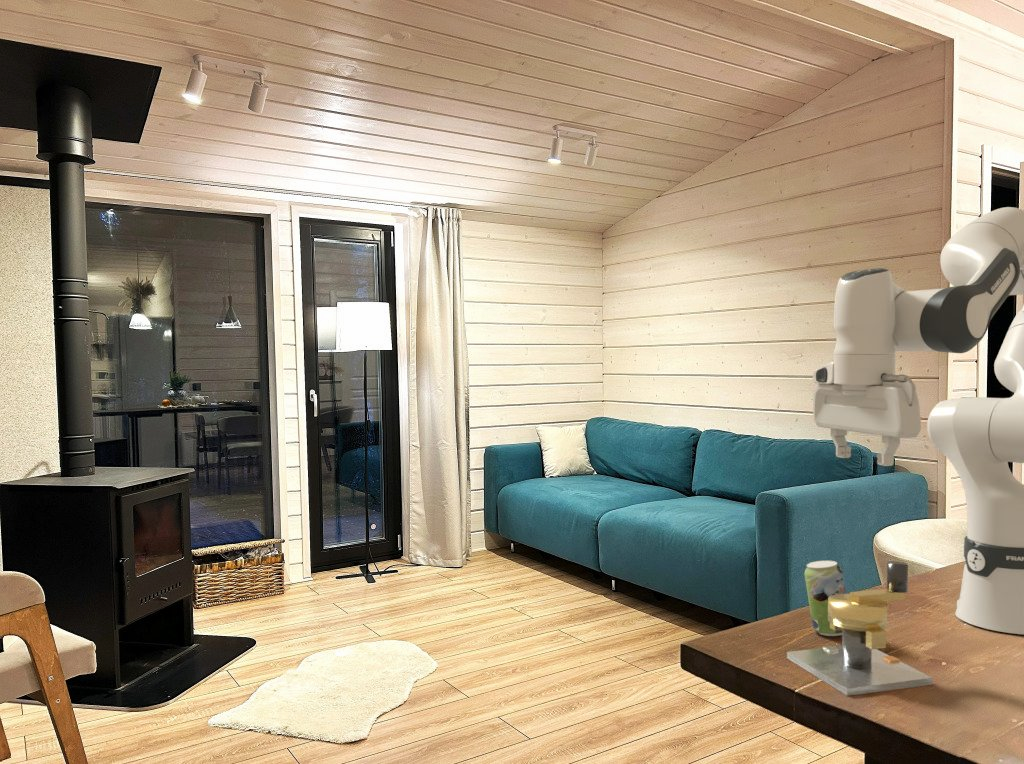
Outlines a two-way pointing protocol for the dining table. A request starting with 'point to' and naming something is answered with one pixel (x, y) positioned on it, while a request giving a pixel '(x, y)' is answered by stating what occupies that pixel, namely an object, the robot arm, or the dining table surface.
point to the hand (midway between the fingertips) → (863, 461)
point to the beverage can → (823, 592)
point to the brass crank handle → (869, 606)
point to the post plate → (858, 677)
